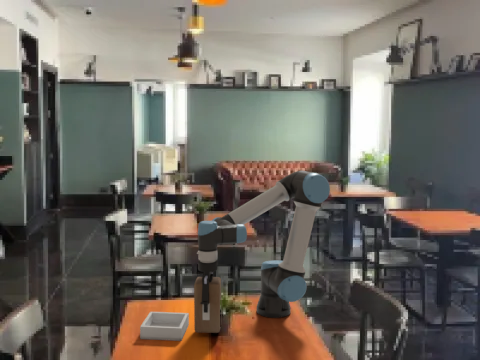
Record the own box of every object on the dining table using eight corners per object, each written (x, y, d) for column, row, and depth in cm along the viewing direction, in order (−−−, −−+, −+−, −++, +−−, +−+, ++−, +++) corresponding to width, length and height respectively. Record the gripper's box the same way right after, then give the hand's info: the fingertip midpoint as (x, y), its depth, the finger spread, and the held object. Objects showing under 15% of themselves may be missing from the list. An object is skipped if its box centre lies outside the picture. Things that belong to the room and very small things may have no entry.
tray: (188, 324, 224) (188, 313, 224) (181, 340, 208) (181, 328, 208) (150, 323, 226) (150, 311, 225) (140, 338, 210) (140, 326, 209)
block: (219, 333, 210) (219, 284, 208) (194, 333, 211) (193, 283, 208) (221, 323, 220) (221, 276, 218) (196, 323, 221) (196, 276, 218)
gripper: (202, 252, 224) (202, 304, 226) (193, 268, 201) (194, 325, 204) (220, 253, 223) (220, 304, 226) (213, 268, 201) (213, 326, 203)
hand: (208, 314), depth 215 cm, fingers closed on block, 10 cm apart
